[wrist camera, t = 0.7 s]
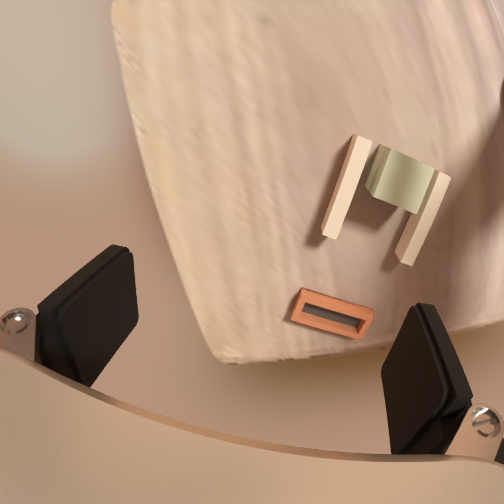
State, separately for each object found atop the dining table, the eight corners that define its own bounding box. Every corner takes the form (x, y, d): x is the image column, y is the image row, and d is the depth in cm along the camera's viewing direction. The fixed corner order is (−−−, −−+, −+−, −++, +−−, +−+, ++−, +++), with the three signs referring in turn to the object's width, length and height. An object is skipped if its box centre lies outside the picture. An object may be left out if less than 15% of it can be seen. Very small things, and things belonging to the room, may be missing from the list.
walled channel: (440, 171, 30) (451, 177, 27) (405, 255, 35) (411, 266, 32) (353, 133, 30) (357, 135, 28) (321, 225, 35) (322, 234, 32)
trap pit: (372, 309, 39) (374, 317, 37) (359, 331, 40) (360, 340, 39) (301, 287, 39) (301, 295, 37) (291, 311, 41) (290, 319, 39)
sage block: (418, 161, 30) (434, 168, 26) (403, 201, 32) (416, 214, 28) (379, 144, 30) (390, 148, 26) (364, 185, 33) (373, 196, 28)
